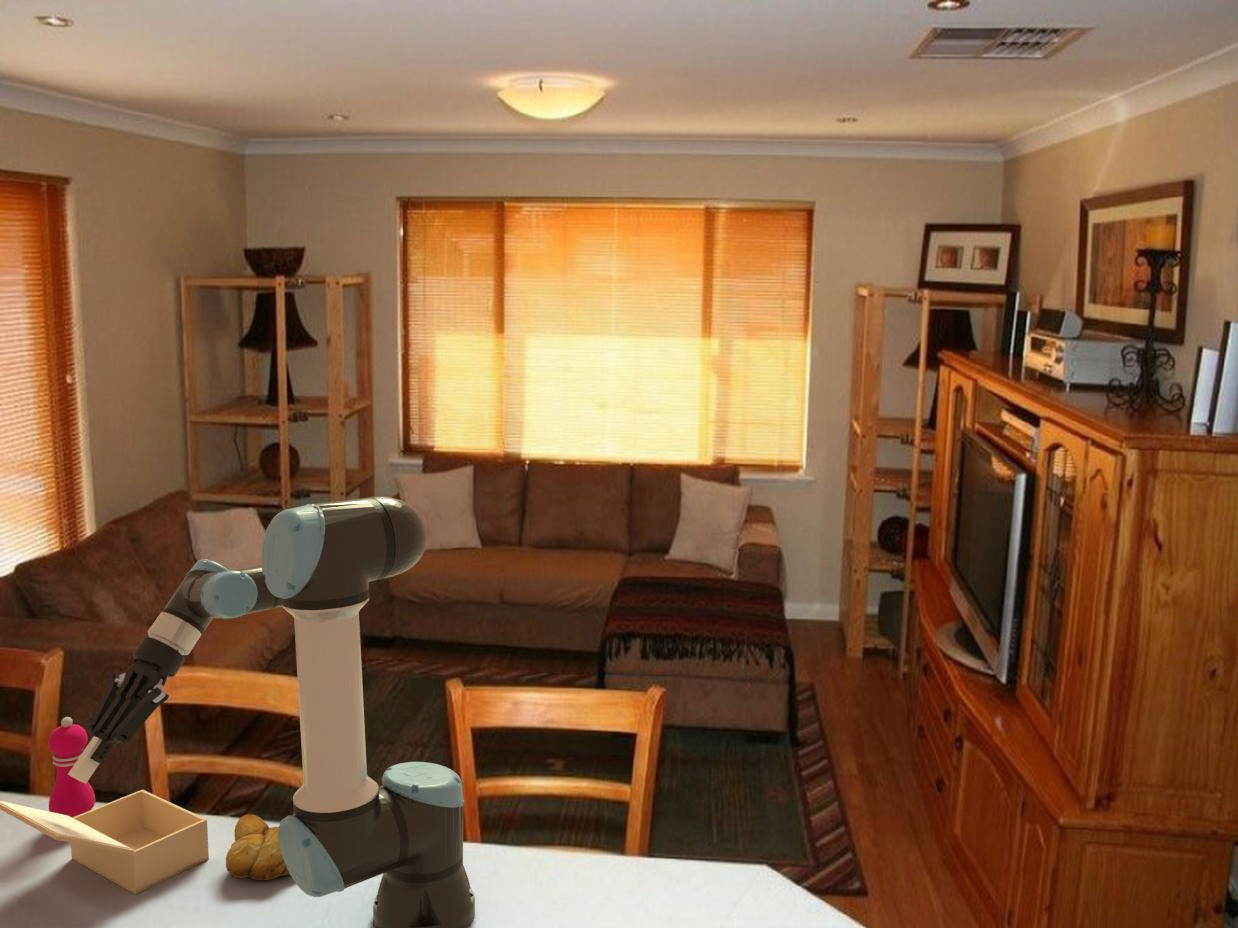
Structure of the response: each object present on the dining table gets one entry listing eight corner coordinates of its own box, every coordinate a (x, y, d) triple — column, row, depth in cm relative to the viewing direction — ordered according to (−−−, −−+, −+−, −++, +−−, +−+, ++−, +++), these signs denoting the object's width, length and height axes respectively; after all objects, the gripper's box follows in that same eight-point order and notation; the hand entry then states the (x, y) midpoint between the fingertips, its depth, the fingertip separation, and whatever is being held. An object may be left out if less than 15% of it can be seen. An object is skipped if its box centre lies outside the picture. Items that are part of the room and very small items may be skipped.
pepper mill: (105, 818, 191) (99, 711, 188) (78, 838, 184) (71, 727, 181) (69, 814, 192) (61, 707, 189) (40, 834, 185) (32, 723, 182)
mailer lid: (57, 834, 156) (55, 839, 155) (134, 849, 166) (132, 854, 166) (-9, 798, 166) (-11, 803, 166) (68, 814, 177) (66, 819, 176)
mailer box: (208, 858, 178) (207, 819, 177) (135, 894, 168) (133, 852, 167) (144, 827, 188) (142, 789, 187) (71, 858, 178) (69, 818, 176)
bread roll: (317, 860, 179) (316, 815, 177) (289, 892, 169) (287, 844, 168) (245, 851, 181) (244, 807, 180) (214, 882, 172) (211, 835, 170)
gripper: (205, 664, 178) (118, 799, 167) (157, 649, 185) (71, 777, 174) (175, 642, 173) (83, 779, 162) (127, 628, 180) (35, 758, 169)
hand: (77, 778), depth 168 cm, fingers closed
